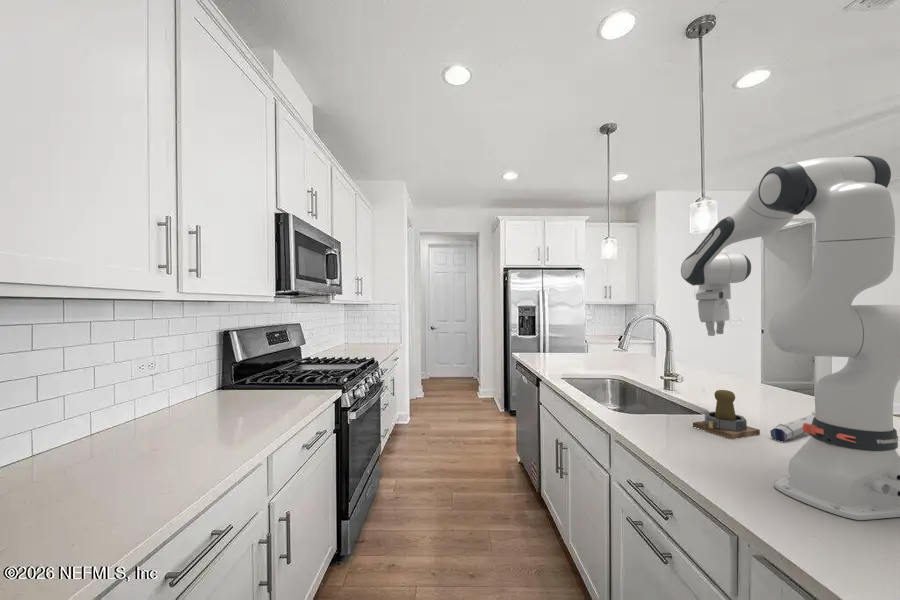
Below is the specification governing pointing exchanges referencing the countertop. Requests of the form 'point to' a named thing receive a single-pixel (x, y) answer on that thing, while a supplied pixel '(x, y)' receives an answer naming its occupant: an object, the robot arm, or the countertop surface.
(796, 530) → the countertop surface
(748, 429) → the base plate
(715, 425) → the collar
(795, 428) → the grey and blue bar
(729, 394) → the cork
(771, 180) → the robot arm
